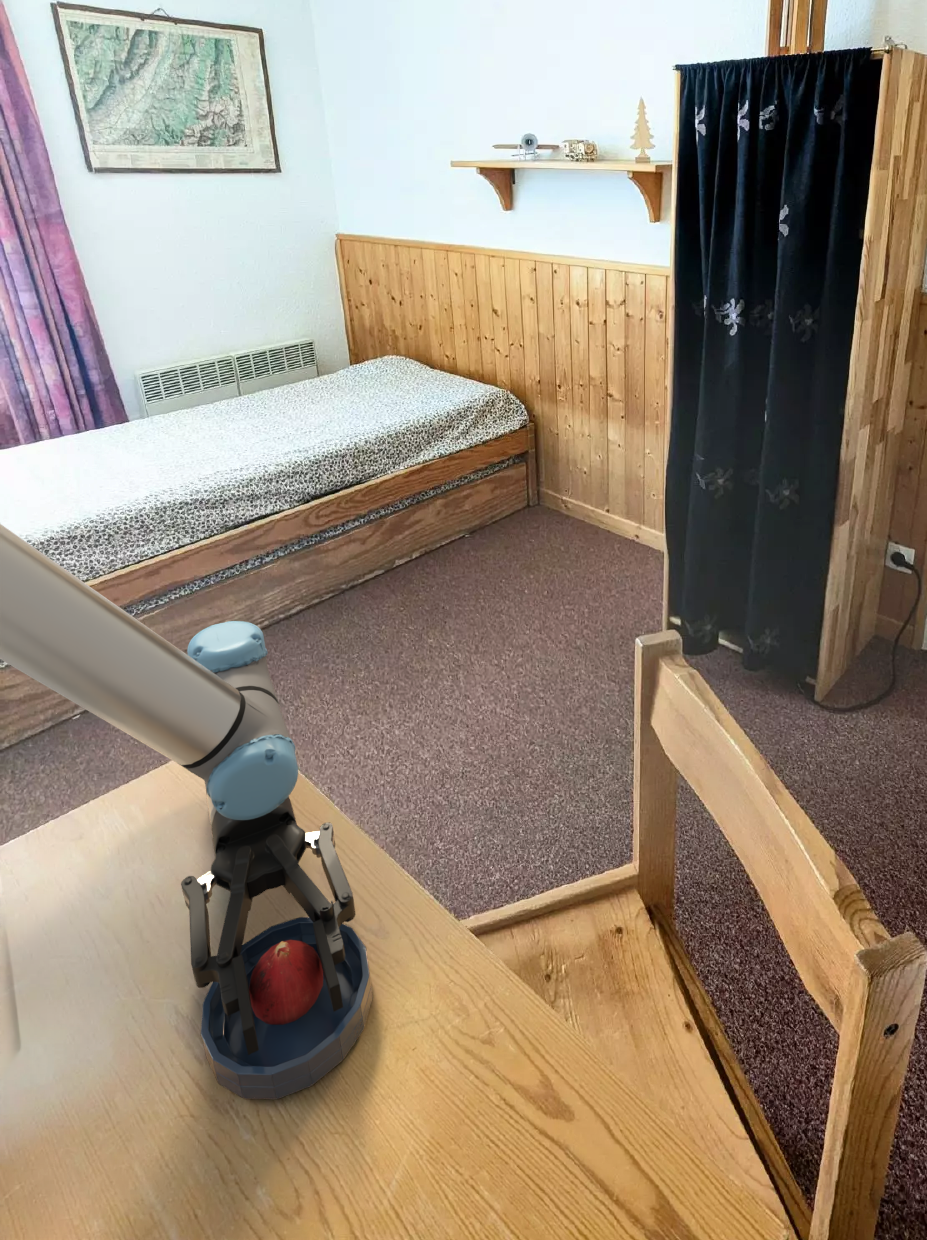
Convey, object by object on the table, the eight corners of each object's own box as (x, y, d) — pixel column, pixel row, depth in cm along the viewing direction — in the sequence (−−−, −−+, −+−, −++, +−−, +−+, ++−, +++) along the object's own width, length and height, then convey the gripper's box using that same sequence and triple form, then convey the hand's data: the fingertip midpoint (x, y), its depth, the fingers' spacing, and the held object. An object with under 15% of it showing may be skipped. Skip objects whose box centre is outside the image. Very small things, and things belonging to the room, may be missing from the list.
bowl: (177, 1102, 62) (169, 1072, 60) (249, 942, 74) (244, 915, 73) (344, 1105, 61) (340, 1075, 60) (389, 944, 74) (386, 917, 73)
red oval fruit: (268, 1063, 64) (254, 995, 61) (246, 1007, 68) (232, 941, 65) (338, 1016, 67) (327, 950, 64) (313, 965, 71) (302, 901, 68)
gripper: (348, 806, 86) (415, 991, 67) (154, 881, 77) (169, 1119, 58) (340, 751, 83) (408, 928, 64) (139, 823, 74) (149, 1051, 55)
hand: (294, 1018), depth 61 cm, fingers closed on red oval fruit, 6 cm apart
